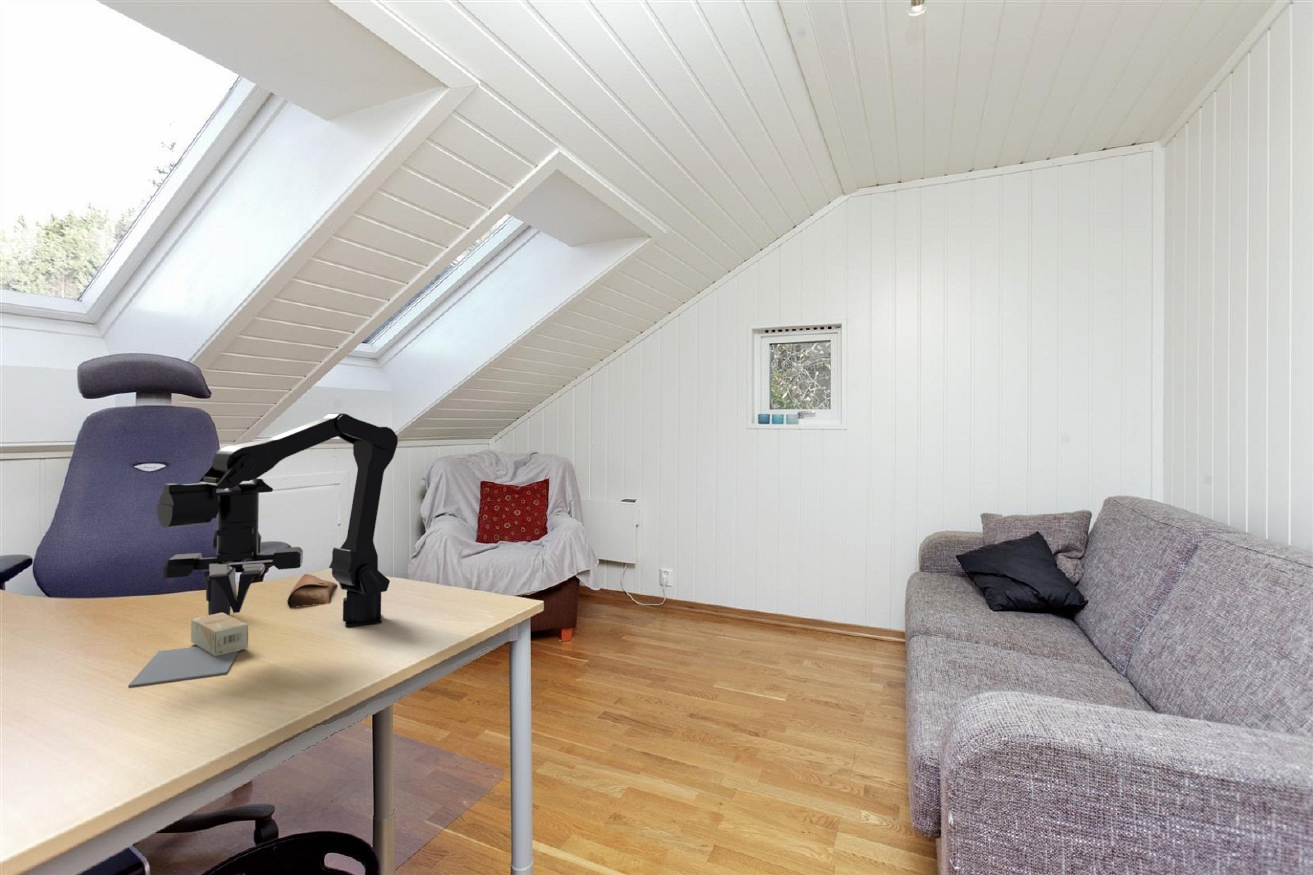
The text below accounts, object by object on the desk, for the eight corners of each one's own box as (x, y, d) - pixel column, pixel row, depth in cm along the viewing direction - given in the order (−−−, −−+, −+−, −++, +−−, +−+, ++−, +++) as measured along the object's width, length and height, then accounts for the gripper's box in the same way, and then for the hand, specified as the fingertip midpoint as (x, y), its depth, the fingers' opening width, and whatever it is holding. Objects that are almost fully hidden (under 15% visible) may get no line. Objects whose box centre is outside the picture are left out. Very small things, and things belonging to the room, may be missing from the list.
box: (214, 631, 99) (188, 619, 105) (214, 657, 99) (188, 643, 105) (250, 623, 103) (223, 611, 109) (250, 648, 103) (223, 634, 109)
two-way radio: (232, 616, 121) (233, 543, 121) (206, 621, 117) (207, 546, 117) (225, 611, 124) (226, 540, 124) (198, 615, 121) (199, 542, 121)
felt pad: (243, 642, 107) (243, 641, 107) (226, 673, 93) (226, 671, 93) (158, 652, 101) (158, 651, 101) (128, 687, 88) (128, 685, 88)
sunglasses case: (331, 603, 131) (314, 579, 129) (300, 623, 128) (282, 598, 127) (338, 584, 147) (322, 562, 146) (310, 601, 145) (294, 578, 143)
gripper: (305, 511, 111) (304, 594, 112) (181, 516, 103) (180, 605, 103) (300, 520, 102) (299, 610, 102) (162, 526, 93) (161, 624, 93)
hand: (237, 612), depth 100 cm, fingers closed
